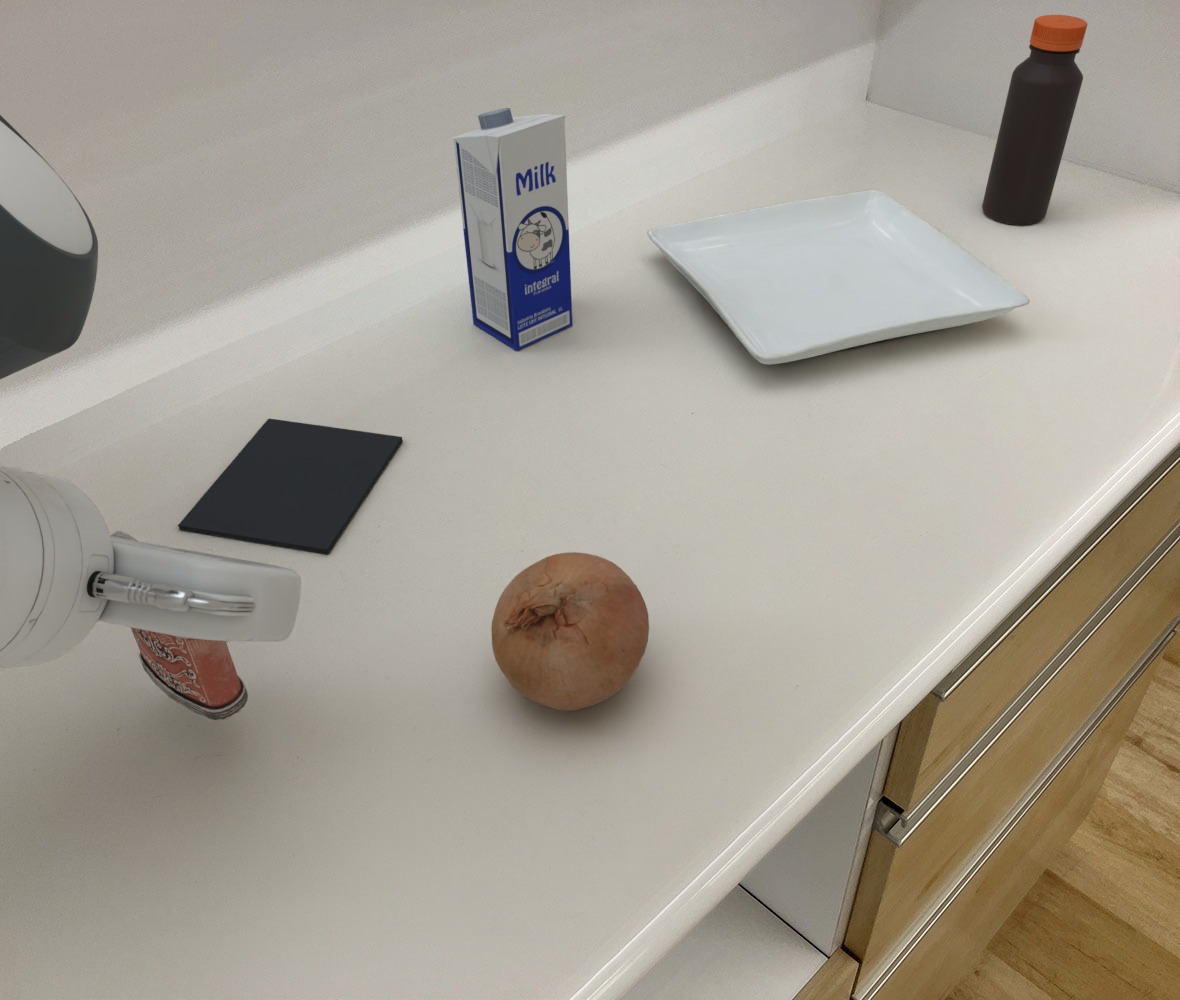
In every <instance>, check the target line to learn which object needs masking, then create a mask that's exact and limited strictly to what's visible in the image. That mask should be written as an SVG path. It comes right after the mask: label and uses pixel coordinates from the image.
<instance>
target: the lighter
mask: <svg viewBox="0 0 1180 1000" xmlns="http://www.w3.org/2000/svg"><path fill="white" fill-rule="evenodd" d="M110 536H111V537H117V538H122V539H128V540H134V541H139V540H138V539H136V538H135V537H133V536H132V535H130V534H129V533H127V532H125V531H122V530H117V531H115V532H113V533H110ZM129 628H130V630H131V632H132V635H133V637H134V639H135V642H136V644H137V647H138V649H139V653H138V658H139V662H140V663H141V665H142V668H143V670H144V671H145V673H146V674H147V676H148V677H149V678H150V680H151V682H152V683H154V685H155V686H157V688H158V689H159V690H160V691H161V692H162V693H164V694H165V695H166V696H167V697H168V698H169V699H170V700H172V701H173V702H175V703H176V704H178V705H180V706H181V707H183V708H185V709H186V710H187V711H190V712H192V713H195V714H196V715H198V716H200V717H203V718H205V719H208V720H210V721H214V722H218V721H225V720H228V719H231V718H233V717H234V716H236V715H237V714H239V713H240V712H241V711H242V710H243V709H245V706H246V705H247V703H248V701H249V693H248V691H247V688H246V685H245V682H244V680H243V679H242V678H241V677H240V676H239V674H238V672H237V670H236V666H235V664H234V661H233V660H234V659H233V658H232V655H231V651H230V649H229V646H228V643H227V641H212V640H201V639H192V638H185V637H178V636H172V635H167V634H162V633H157V632H152V631H147V630H142V629H137V628H131V627H129Z"/></svg>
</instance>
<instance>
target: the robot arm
mask: <svg viewBox="0 0 1180 1000" xmlns="http://www.w3.org/2000/svg"><path fill="white" fill-rule="evenodd" d="M88 215H89V214H87V212H86V210H85V209H84V207H83V205H82V204H81V202H80V200H78V198H77V197H76V195H75V194H74V193H73V191H72V190H71V188H70V187H69V186H68V184H66V182H65V181H64V179H62V177H61V175H59V174H58V173H57V171H56V170H55V169H54V168H53V167H52V165H51V164H50V163H48V161H47V160H46V159H45V158H44V157H43V156H42V155H41V154H40V153H39V152H38V151H37V150H36V148H34V147H33V146H32V144H30V142H28V141H27V139H25V138H24V136H23V135H22V134H21V133H20V132H19V131H17V129H15V128H14V127H13V126H12V124H10V123H9V122H8V121H7V119H5V118H4V117H3V116H2V115H1V114H0V380H2V379H4V378H5V379H6V378H7V377H9V376H11V375H13V374H16V373H18V372H19V371H22V370H24V369H27V368H28V367H31V366H34V365H35V364H38V363H40V362H42V361H44V360H46V359H48V358H49V359H50V358H51V357H53V356H56V355H58V354H60V353H62V352H64V351H67V350H68V349H70V348H71V347H72V346H74V345H75V343H76V342H77V341H78V340H79V338H80V336H81V335H82V331H83V329H84V327H85V323H86V321H87V318H88V315H89V311H90V308H91V304H92V301H93V296H94V292H95V287H96V283H97V282H96V281H97V275H98V274H97V273H98V264H99V241H98V237H97V233H96V231H95V228H94V226H93V223H92V221H91V219H90V217H89V216H88ZM110 535H111V533H110V530H109V527H108V524H107V522H106V520H105V518H104V516H103V514H102V512H101V511H100V509H99V507H98V506H97V505H96V504H95V502H94V501H93V500H92V498H91V497H89V495H88V494H87V493H86V492H85V491H84V490H82V489H81V488H80V487H78V486H77V485H76V484H74V483H72V482H71V481H68V480H67V479H65V478H62V477H60V476H57V475H53V474H50V473H46V472H40V471H34V470H28V469H23V468H18V467H13V466H8V465H3V464H0V670H1V669H15V668H30V667H35V666H40V665H45V664H47V663H50V662H52V661H54V660H57V659H59V658H61V657H62V656H64V655H66V654H68V653H69V652H70V651H72V650H73V649H75V647H77V646H78V645H80V643H81V642H82V641H83V640H84V639H85V638H86V637H87V636H88V635H89V634H90V632H91V631H92V630H93V628H95V626H96V625H97V623H98V622H100V623H101V622H102V623H107V624H111V625H117V626H122V627H127V628H130V627H131V628H137V629H142V630H147V631H152V632H157V633H162V634H167V635H172V636H178V637H185V638H192V639H201V640H212V641H226V642H246V643H247V642H248V643H249V642H251V643H252V642H254V643H256V642H257V643H258V642H259V643H261V642H264V643H265V642H267V643H268V642H269V643H270V642H272V643H273V642H275V643H276V642H282V641H286V640H287V639H288V638H290V636H291V635H292V632H293V630H294V627H295V623H296V619H297V616H298V611H299V606H300V600H301V594H302V593H301V591H302V578H301V576H300V574H299V573H298V572H297V571H295V570H293V569H291V568H289V567H284V566H280V565H274V564H269V563H262V562H257V561H251V560H246V559H240V558H236V557H235V558H233V557H229V556H224V555H218V554H212V553H208V552H207V553H206V552H200V551H195V550H189V549H184V548H178V547H172V546H167V545H161V544H156V543H155V544H154V543H151V542H144V541H139V540H138V541H134V540H128V539H122V538H117V537H111V536H110ZM131 628H130V629H131Z"/></svg>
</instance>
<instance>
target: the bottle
mask: <svg viewBox="0 0 1180 1000" xmlns="http://www.w3.org/2000/svg"><path fill="white" fill-rule="evenodd" d="M1087 27H1088V22H1087V21H1086V20H1084V19H1082V18H1080V17H1077V16H1074V15H1073V16H1072V15H1066V14H1044V15H1040V16H1038V17H1036V18H1035V19H1034V22H1033V26H1032V30H1031V35H1030V38H1029V45H1028V48H1029V50H1030V53H1029V56H1028V57H1027V58H1025V60H1023V61H1021V63H1019V64H1017V66H1015V68H1014V70H1013V72H1012V74H1011V77H1010V82H1009V87H1008V91H1007V95H1006V96H1007V97H1006V99H1005V104H1004V108H1003V111H1002V112H1003V113H1002V117H1001V120H1000V126H999V130H998V135H997V139H996V144H995V148H994V152H993V156H992V161H991V165H990V170H989V173H988V178H987V183H986V185H985V190H984V196H983V200H982V205H981V209H982V211H983V213H984V214H985V215H986V216H987V217H988V218H990V219H992V220H994V221H996V222H1000V223H1002V224H1007V225H1013V226H1014V225H1016V226H1017V225H1018V226H1026V225H1033V224H1036V223H1039V222H1041V221H1042V220H1043V219H1045V218H1046V216H1047V213H1048V209H1049V206H1050V203H1051V198H1052V195H1053V191H1054V188H1055V184H1056V181H1057V176H1058V173H1059V169H1060V165H1061V162H1062V158H1063V154H1064V151H1065V147H1066V144H1067V139H1068V136H1069V132H1070V130H1071V129H1070V128H1071V125H1072V121H1073V118H1074V113H1075V109H1076V107H1077V104H1078V99H1079V97H1080V96H1079V95H1080V92H1081V88H1082V85H1083V80H1084V75H1083V73H1082V71H1081V70H1080V68H1079V66H1078V65H1077V63H1076V62H1075V59H1076V56H1077V54H1079V53H1080V52H1081V48H1082V46H1083V43H1084V39H1085V36H1086V35H1085V34H1086V31H1087V29H1088V28H1087Z"/></svg>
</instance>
